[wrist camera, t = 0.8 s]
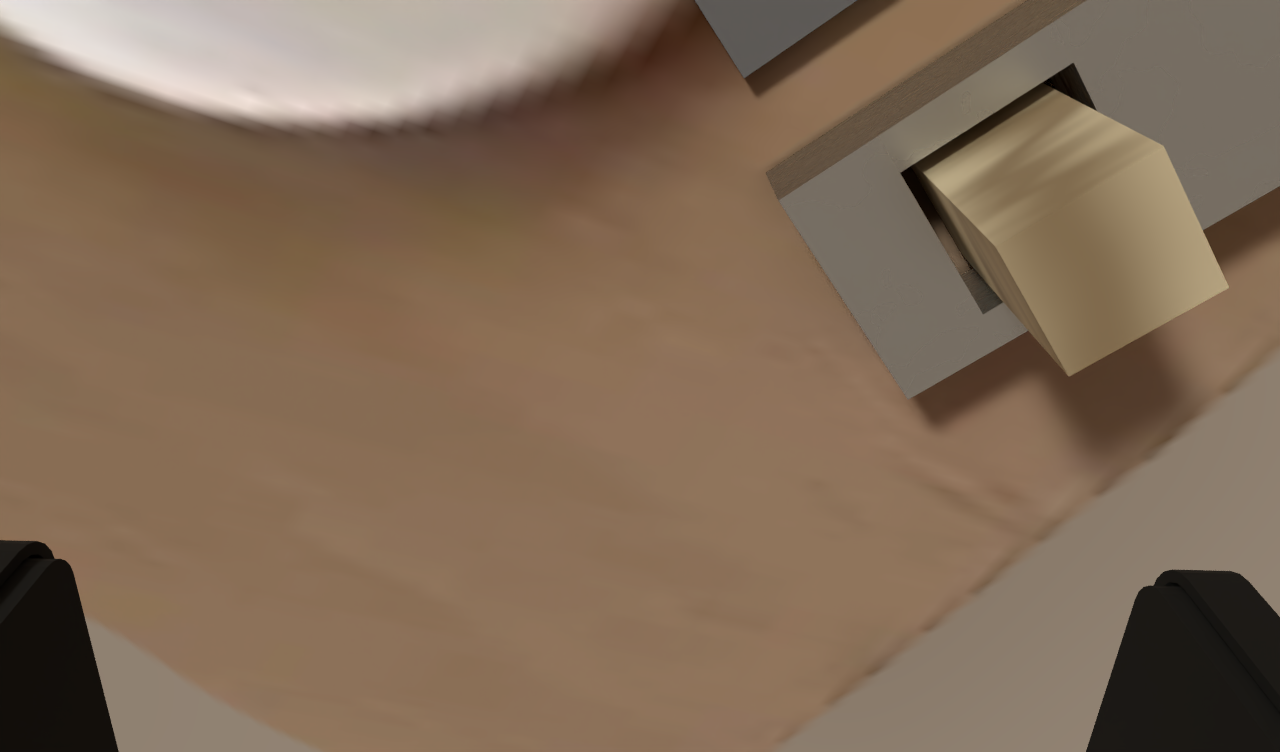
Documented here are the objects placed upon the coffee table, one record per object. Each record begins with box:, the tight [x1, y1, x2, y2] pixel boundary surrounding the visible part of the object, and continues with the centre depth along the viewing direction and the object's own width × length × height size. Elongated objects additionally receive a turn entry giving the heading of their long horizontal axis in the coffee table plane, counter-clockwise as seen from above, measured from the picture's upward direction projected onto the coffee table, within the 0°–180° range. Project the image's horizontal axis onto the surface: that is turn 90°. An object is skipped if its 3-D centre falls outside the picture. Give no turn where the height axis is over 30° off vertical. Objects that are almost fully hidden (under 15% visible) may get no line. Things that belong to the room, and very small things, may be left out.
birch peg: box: [911, 83, 1229, 377], centre depth 29 cm, size 4×4×9 cm
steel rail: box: [766, 0, 1280, 399], centre depth 30 cm, size 22×8×3 cm, turn 125°
